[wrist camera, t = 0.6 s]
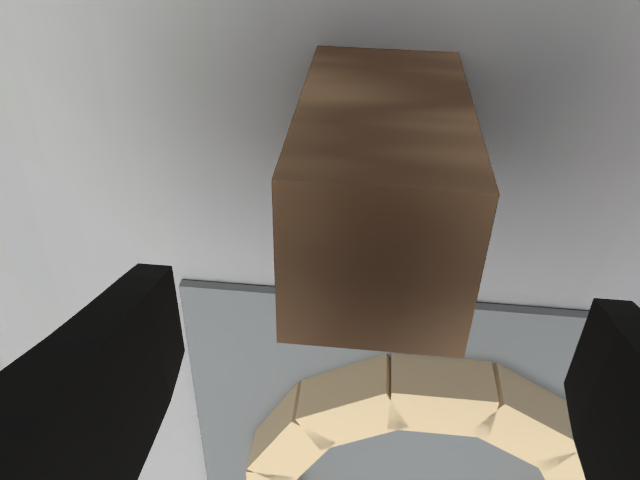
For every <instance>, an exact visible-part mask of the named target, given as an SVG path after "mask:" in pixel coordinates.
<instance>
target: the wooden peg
mask: <svg viewBox="0 0 640 480" xmlns="http://www.w3.org/2000/svg"><path fill="white" fill-rule="evenodd" d="M498 199H499V191H498V187H497V184H496V180H495V177H494V174H493V170H492V167H491V163H490V160H489V156H488V153H487V150H486V146H485V143H484V139H483V136H482V132H481V129H480V125H479V122H478V119H477V115H476V112H475V108H474V105H473V101H472V98H471V94H470V91H469V88H468V84H467V81H466V77H465V74H464V70H463V67H462V63H461V60H460V57H459V53H458V52H437V51H417V50H396V49H375V48H354V47H333V46H317V49H316V52H315V55H314V57H313V60H312V63H311V66H310V69H309V72H308V75H307V78H306V81H305V84H304V87H303V90H302V92H301V95H300V98H299V101H298V104H297V107H296V110H295V113H294V116H293V119H292V122H291V125H290V127H289V130H288V133H287V136H286V139H285V142H284V145H283V148H282V151H281V154H280V157H279V160H278V162H277V165H276V168H275V171H274V174H273V177H272V208H273V239H274V271H275V303H276V334H277V343H287V344H299V345H311V346H323V347H335V348H346V349H358V350H370V351H382V352H394V353H406V354H418V355H430V356H442V357H454V358H464V357H465V352H466V348H467V343H468V338H469V334H470V329H471V324H472V320H473V315H474V310H475V306H476V301H477V296H478V292H479V287H480V283H481V278H482V273H483V269H484V264H485V259H486V255H487V250H488V245H489V241H490V236H491V231H492V227H493V222H494V218H495V213H496V208H497V204H498Z"/></svg>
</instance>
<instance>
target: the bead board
mask: <svg viewBox="0 0 640 480" xmlns="http://www.w3.org/2000/svg"><path fill="white" fill-rule="evenodd" d="M179 290H180V297H181V304H182V311H183V317H184V324H185V331H186V338H187V344H188V351H189V358H190V365H191V371H192V378H193V385H194V392H195V398H196V405H197V412H198V419H199V425H200V432H201V439H202V446H203V452H204V459H205V466H206V473H207V479H208V480H586V479H585V476H584V473H583V469H582V466H581V463H580V460H579V456H578V453H577V450H576V447H575V443H574V440H573V435H572V430H571V425H570V419H569V414H568V408H567V402H566V395H565V389H564V381H565V378H566V375H567V372H568V369H569V367H570V364H571V361H572V358H573V355H574V353H575V350H576V347H577V344H578V341H579V339H580V336H581V333H582V330H583V327H584V325H585V322H586V319H587V316H588V314H589V311H580V310H567V309H554V308H541V307H529V306H516V305H503V304H490V303H477V302H476V306H475V310H474V315H473V320H472V324H471V329H470V334H469V338H468V343H467V348H466V352H465V357H464V358H454V357H442V356H430V355H418V354H406V353H394V352H382V351H370V350H358V349H346V348H335V347H323V346H311V345H299V344H287V343H277V334H276V303H275V287H270V286H257V285H244V284H231V283H218V282H205V281H192V280H182V281H181V283H180V285H179Z"/></svg>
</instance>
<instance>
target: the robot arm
mask: <svg viewBox="0 0 640 480" xmlns="http://www.w3.org/2000/svg"><path fill="white" fill-rule="evenodd" d="M184 351H185V349H184V342H183V336H182V329H181V323H180V316H179V310H178V303H177V297H176V290H175V284H174V277H173V271H172V266H164V265H151V264H137V265H136V266H134V267H133V268H132V269H130V270H129V271H128V272H127V273H125V274H124V275H123V276H122V277H121V278H119V279H118V280H117V281H116V282H114V283H113V284H112V285H111V286H110V287H108V288H107V289H106V290H105V291H104V292H102V293H101V294H100V295H99V296H98V297H96V298H95V299H94V300H93V301H92V302H90V303H89V304H88V305H87V306H85V307H84V308H83V309H82V310H80V311H79V312H78V313H77V314H75V315H74V316H73V317H72V318H70V319H69V320H68V321H67V322H65V323H64V324H63V325H62V326H60V327H59V328H58V329H57V330H55V331H54V332H53V333H52V334H50V335H49V336H48V337H46V338H45V339H44V340H42V341H41V342H40V343H38V344H37V345H36V346H34V347H33V348H31V349H30V350H29V351H27V352H26V353H25V354H23V355H22V356H20V357H19V358H18V359H16V360H15V361H14V362H12V363H11V364H9V365H8V366H7V367H5V368H4V369H3V370H1V371H0V480H138V477H139V475H140V473H141V470H142V468H143V466H144V463H145V461H146V459H147V456H148V454H149V452H150V449H151V447H152V445H153V442H154V440H155V437H156V435H157V433H158V430H159V428H160V426H161V423H162V421H163V418H164V416H165V414H166V411H167V409H168V406H169V404H170V401H171V398H172V394H173V391H174V388H175V384H176V381H177V377H178V374H179V370H180V366H181V362H182V359H183V355H184ZM564 389H565V395H566V402H567V408H568V414H569V419H570V425H571V430H572V435H573V440H574V443H575V447H576V450H577V453H578V456H579V460H580V463H581V466H582V469H583V473H584V476H585V479H586V480H640V308H639V307H638V306H637V305H636V304H635V303H634V302H632V301H625V300H611V299H598V298H594V300H593V302H592V305H591V308H590V311H589V314H588V316H587V319H586V322H585V325H584V327H583V330H582V333H581V336H580V339H579V341H578V344H577V347H576V350H575V353H574V355H573V358H572V361H571V364H570V367H569V369H568V372H567V375H566V378H565V381H564Z"/></svg>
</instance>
